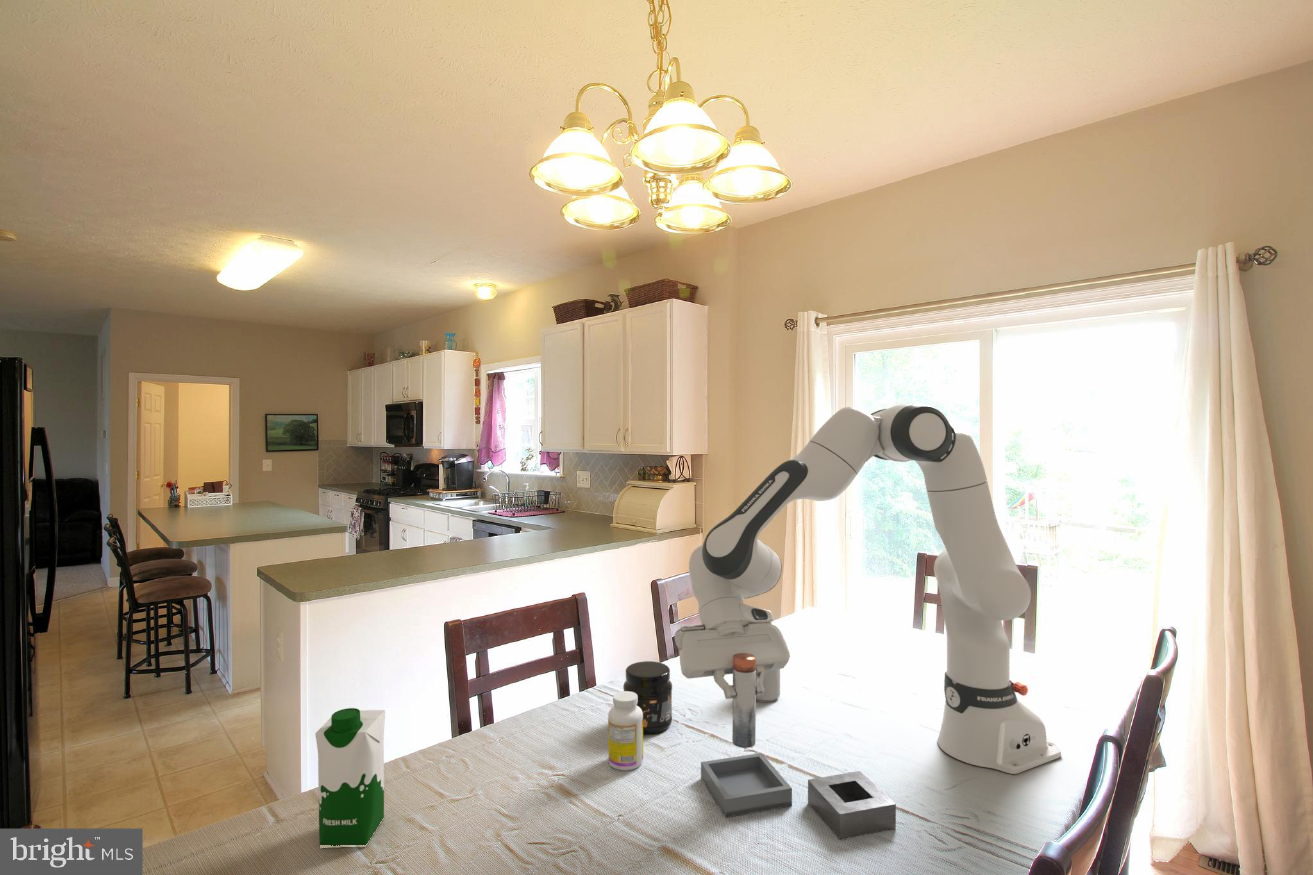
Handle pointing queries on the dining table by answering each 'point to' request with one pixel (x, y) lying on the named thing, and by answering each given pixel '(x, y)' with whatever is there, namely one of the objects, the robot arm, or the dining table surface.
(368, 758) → the milk carton
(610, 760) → the supplement bottle
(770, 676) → the can
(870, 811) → the socket
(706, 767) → the tray
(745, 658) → the pin
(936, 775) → the dining table surface
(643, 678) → the supplement container
